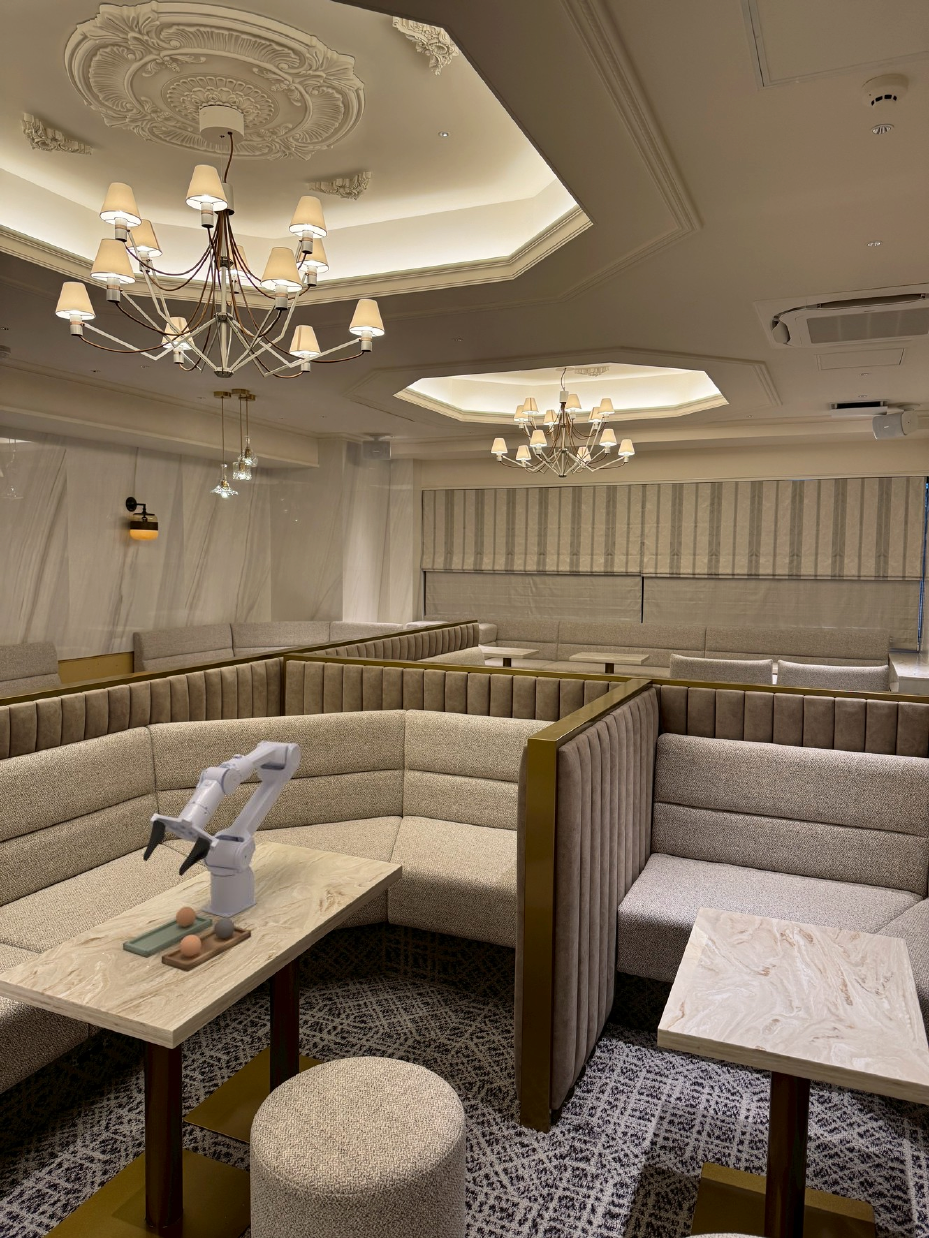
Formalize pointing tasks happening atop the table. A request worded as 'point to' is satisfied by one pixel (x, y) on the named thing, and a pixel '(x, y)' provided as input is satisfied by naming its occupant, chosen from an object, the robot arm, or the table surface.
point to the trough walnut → (205, 949)
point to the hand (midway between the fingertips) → (162, 865)
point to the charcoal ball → (224, 928)
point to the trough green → (164, 936)
